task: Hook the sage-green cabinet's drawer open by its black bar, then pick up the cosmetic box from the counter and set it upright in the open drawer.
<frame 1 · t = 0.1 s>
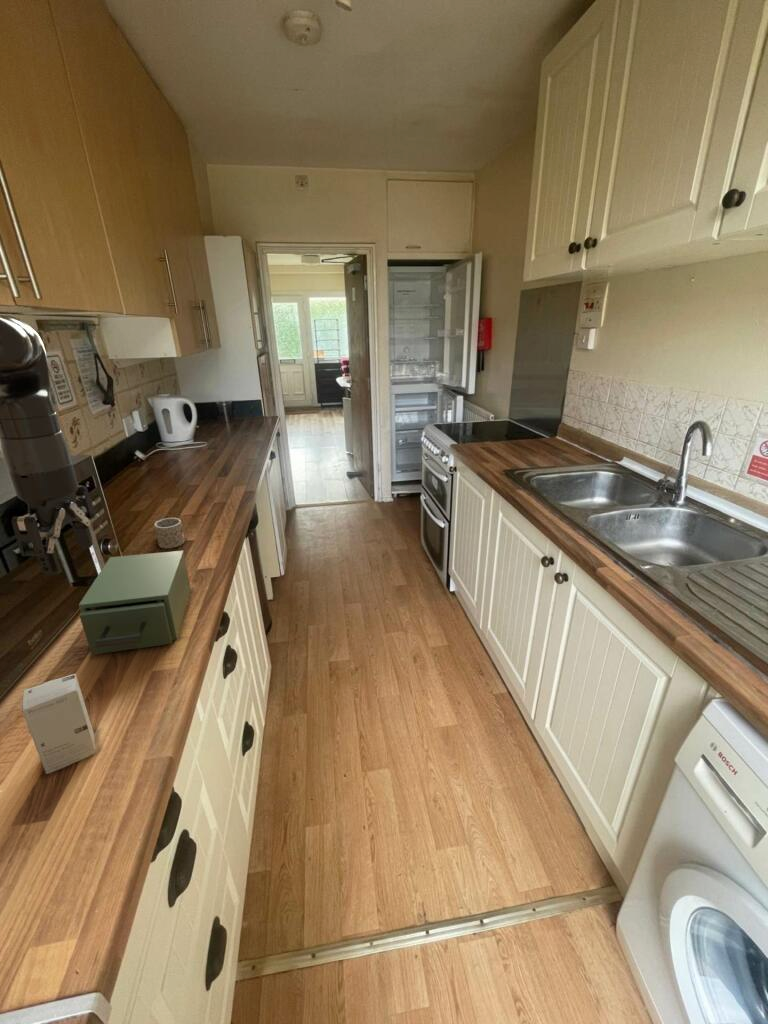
hand: (70, 559, 69), 22 cm above the table, tool pointing down, fingers open, 8 cm apart
cabinet: (147, 618, 91), on the table
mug: (168, 542, 122), on the table
drawer: (135, 611, 84), point 5 cm above the table, slide at 0.8 cm
cosmetic box: (73, 754, 62), on the table
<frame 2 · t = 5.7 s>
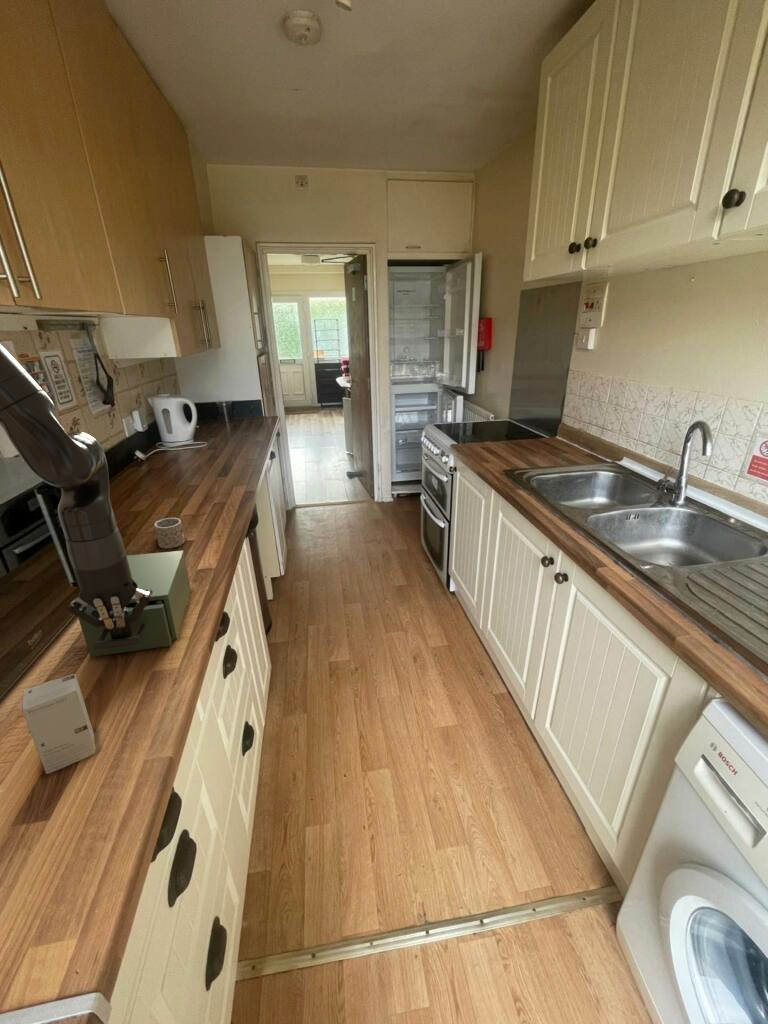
hand: (123, 641, 76), 5 cm above the table, tool pointing down, fingers closed
drawer: (134, 613, 84), point 5 cm above the table, slide at 1.4 cm, touching gripper
everything else where it was.
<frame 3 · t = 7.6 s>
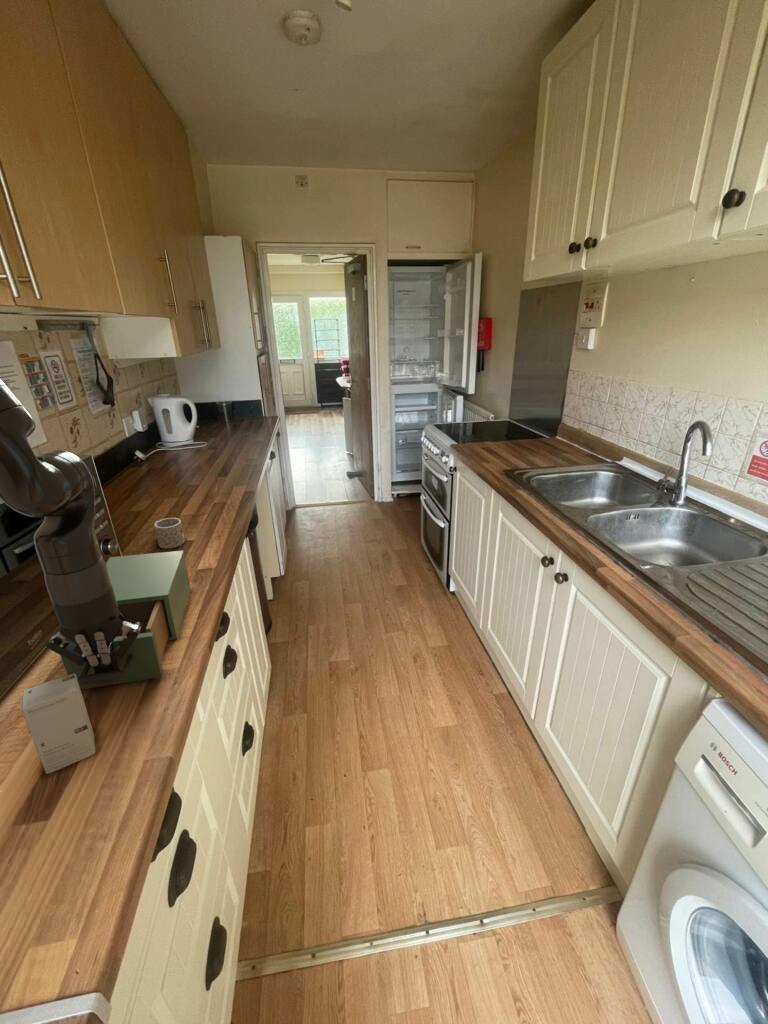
hand: (109, 678, 69), 5 cm above the table, tool pointing down, fingers closed
drawer: (122, 640, 76), point 5 cm above the table, slide at 9.5 cm, touching gripper
everything else where it was.
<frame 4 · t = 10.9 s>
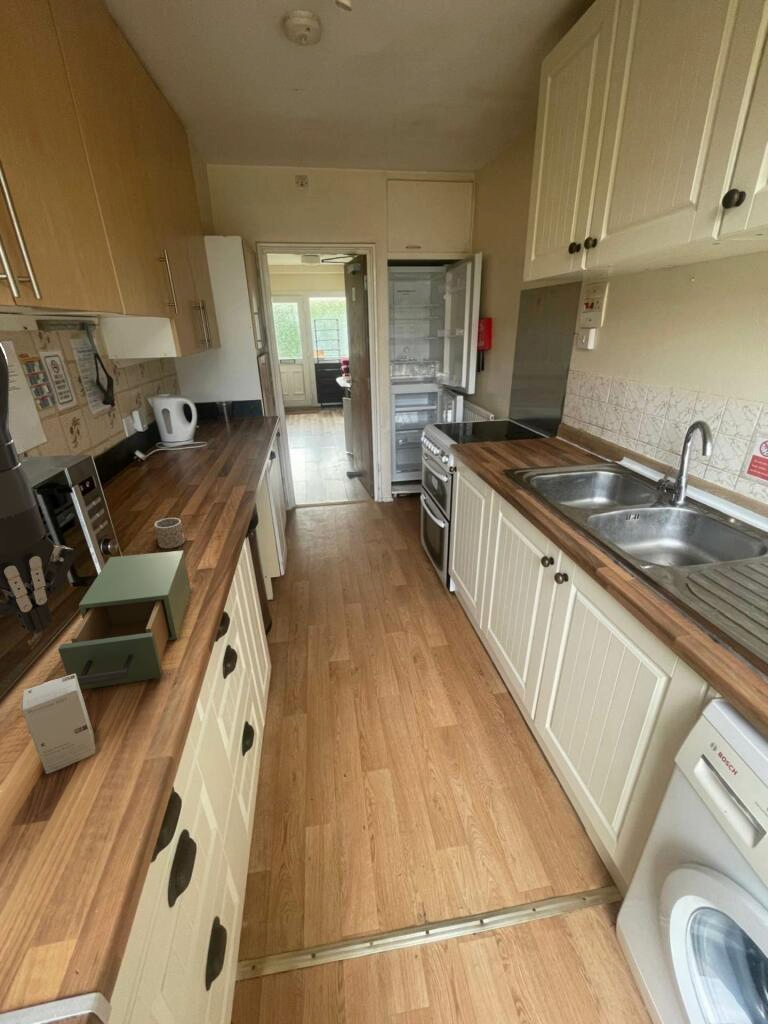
hand: (39, 629, 55), 21 cm above the table, tool pointing down, fingers closed
drawer: (122, 640, 76), point 5 cm above the table, slide at 9.6 cm
everything else where it was.
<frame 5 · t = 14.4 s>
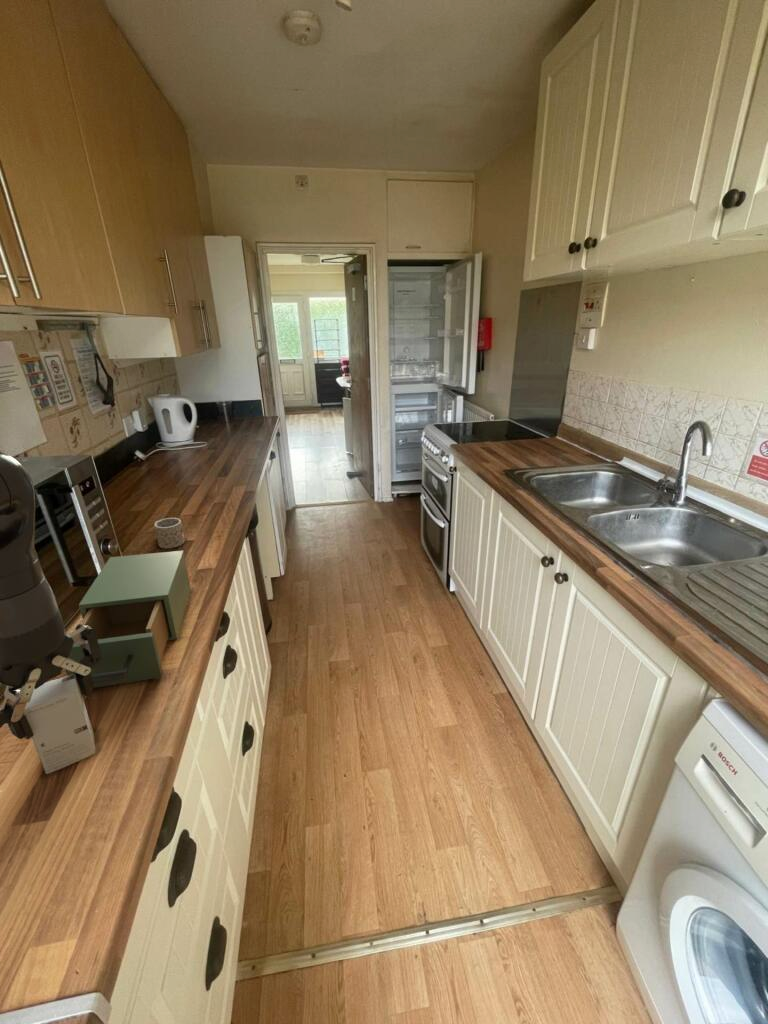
hand: (57, 713, 59), 8 cm above the table, tool pointing down, fingers closed on cosmetic box, 7 cm apart
cosmetic box: (73, 754, 62), on the table, touching gripper
everything else where it was.
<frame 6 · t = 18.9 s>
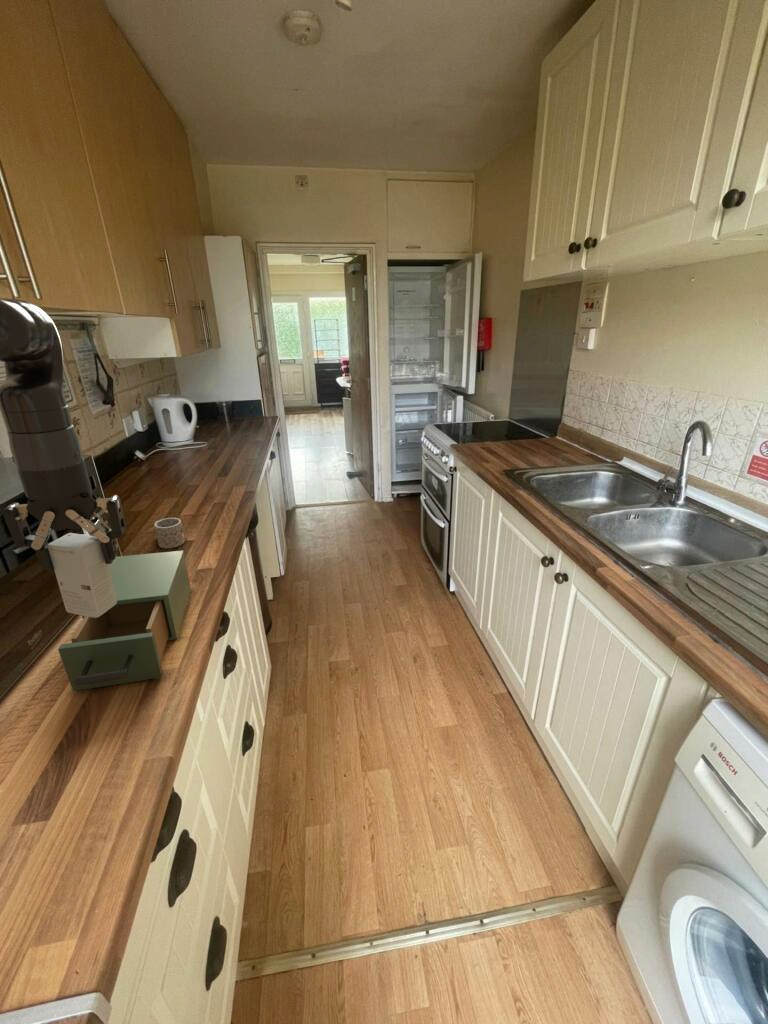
hand: (81, 564, 65), 24 cm above the table, tool pointing down, fingers closed on cosmetic box, 7 cm apart
cosmetic box: (94, 608, 68), point 16 cm above the table, touching gripper
everything else where it was.
when the fingers open (10 cm above the table, at t = 23.5 s): cosmetic box stays where it is, resting on drawer.
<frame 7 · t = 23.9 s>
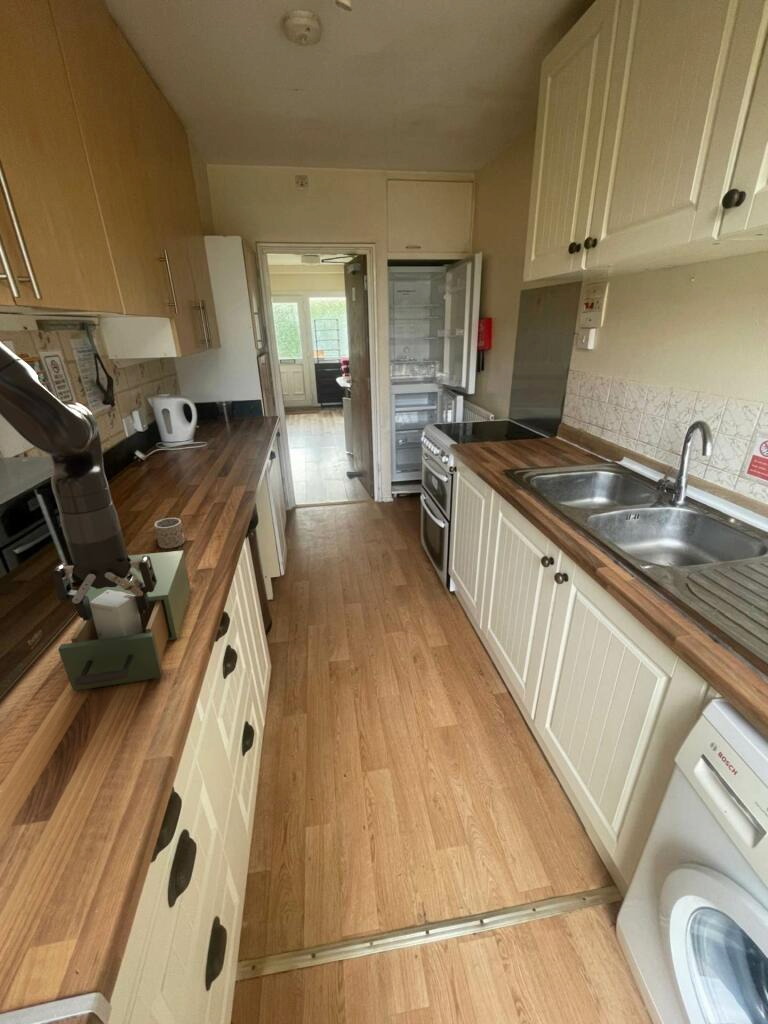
hand: (116, 614, 75), 11 cm above the table, tool pointing down, fingers open, 8 cm apart
drawer: (122, 640, 76), point 5 cm above the table, slide at 9.6 cm, touching cosmetic box
cosmetic box: (127, 654, 78), point 2 cm above the table, touching drawer
everything else where it was.
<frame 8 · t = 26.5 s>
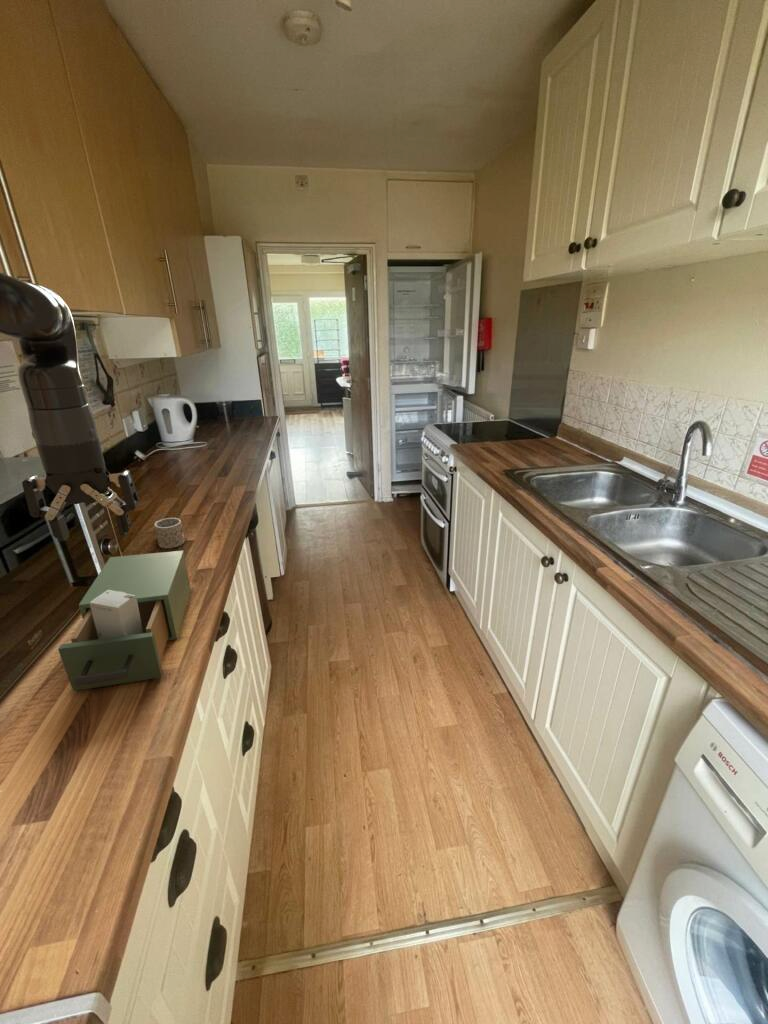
hand: (94, 536, 68), 26 cm above the table, tool pointing down, fingers open, 8 cm apart
nothing on the table moved.
at the end: drawer slide at 9.6 cm; cosmetic box touching drawer; cosmetic box inside the target area in the drawer (0.1 cm from its centre), point 1.9 cm above the cabinet's base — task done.
